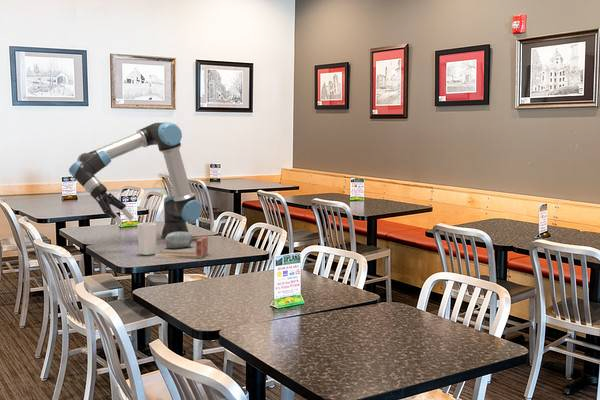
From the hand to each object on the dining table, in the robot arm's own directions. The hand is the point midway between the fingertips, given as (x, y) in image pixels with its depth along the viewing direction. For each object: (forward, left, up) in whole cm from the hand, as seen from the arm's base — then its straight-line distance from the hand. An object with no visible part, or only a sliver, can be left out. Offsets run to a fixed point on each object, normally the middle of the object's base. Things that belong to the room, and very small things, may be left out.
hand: (126, 220), depth 311 cm
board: (0, +27, -16) cm, 31 cm away
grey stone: (-20, +19, -16) cm, 32 cm away
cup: (0, +10, -16) cm, 19 cm away
